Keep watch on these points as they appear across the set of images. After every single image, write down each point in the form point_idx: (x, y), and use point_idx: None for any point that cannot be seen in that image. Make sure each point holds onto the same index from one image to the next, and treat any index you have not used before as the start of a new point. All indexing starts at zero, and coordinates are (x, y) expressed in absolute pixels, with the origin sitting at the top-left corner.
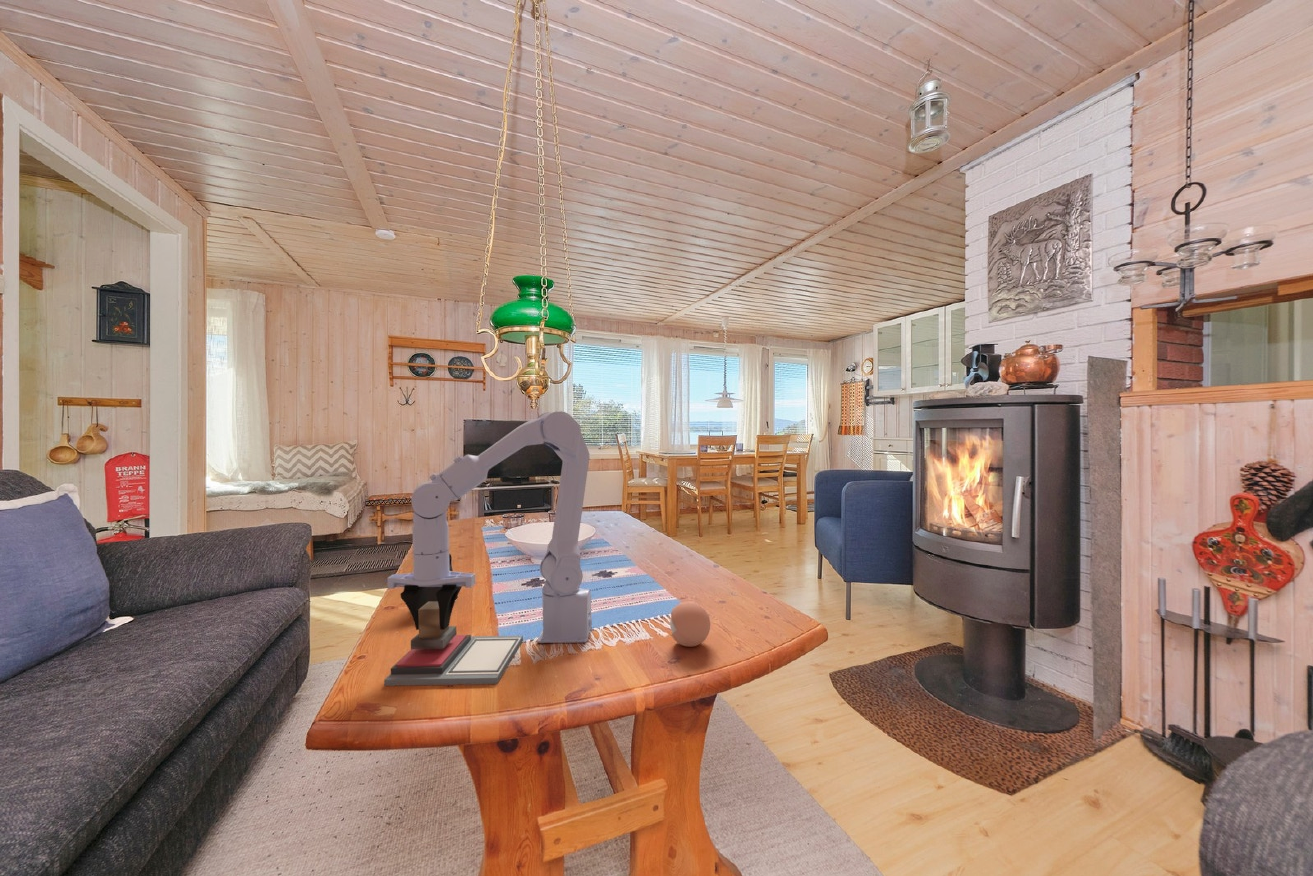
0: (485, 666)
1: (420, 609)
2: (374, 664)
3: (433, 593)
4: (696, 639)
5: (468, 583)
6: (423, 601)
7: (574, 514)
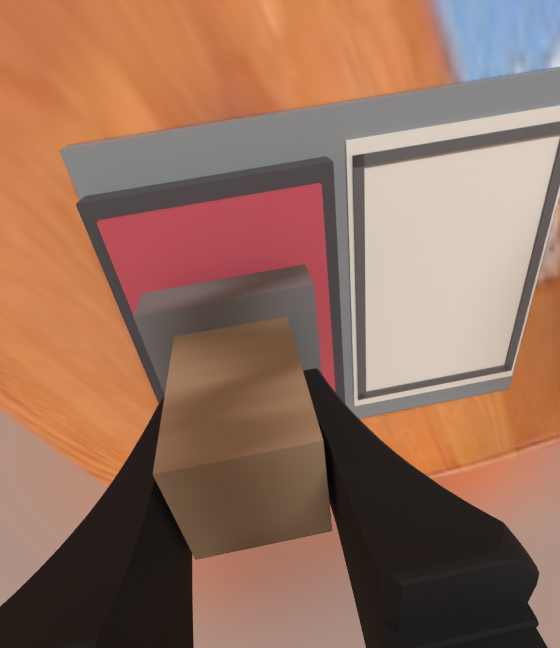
0: (464, 352)
1: (209, 555)
2: (18, 359)
3: None
4: None
5: None
6: (159, 535)
7: None
